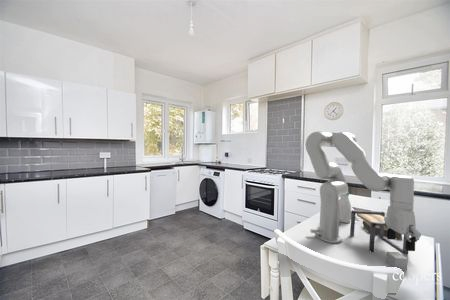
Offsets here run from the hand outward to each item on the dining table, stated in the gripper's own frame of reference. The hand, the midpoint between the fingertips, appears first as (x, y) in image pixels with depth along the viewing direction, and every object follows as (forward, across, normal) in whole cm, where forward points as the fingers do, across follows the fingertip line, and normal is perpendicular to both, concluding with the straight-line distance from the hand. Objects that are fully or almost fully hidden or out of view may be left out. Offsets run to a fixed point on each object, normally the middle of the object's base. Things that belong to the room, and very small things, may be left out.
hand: (400, 244), depth 84 cm
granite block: (+10, -1, -1) cm, 10 cm away
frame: (+10, -20, +4) cm, 22 cm away
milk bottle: (+9, -50, +3) cm, 51 cm away
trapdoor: (-3, -20, +6) cm, 21 cm away
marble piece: (+10, -36, +17) cm, 41 cm away
